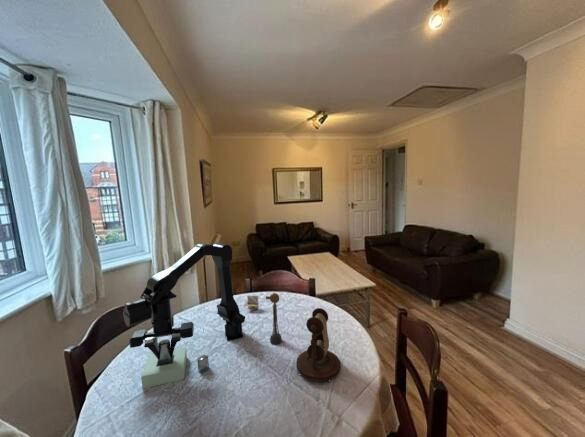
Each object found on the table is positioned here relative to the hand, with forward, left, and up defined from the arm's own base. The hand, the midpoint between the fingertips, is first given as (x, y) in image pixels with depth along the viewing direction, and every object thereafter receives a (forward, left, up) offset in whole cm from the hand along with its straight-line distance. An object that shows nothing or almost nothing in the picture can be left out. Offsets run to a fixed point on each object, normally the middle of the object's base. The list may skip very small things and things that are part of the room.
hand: (165, 357), depth 89 cm
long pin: (0, 0, -2) cm, 2 cm away
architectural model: (-35, -36, -6) cm, 51 cm away
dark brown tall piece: (-49, +16, -5) cm, 52 cm away
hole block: (0, 0, -5) cm, 5 cm away
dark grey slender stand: (-39, -5, -5) cm, 40 cm away
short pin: (-12, +3, -5) cm, 13 cm away
